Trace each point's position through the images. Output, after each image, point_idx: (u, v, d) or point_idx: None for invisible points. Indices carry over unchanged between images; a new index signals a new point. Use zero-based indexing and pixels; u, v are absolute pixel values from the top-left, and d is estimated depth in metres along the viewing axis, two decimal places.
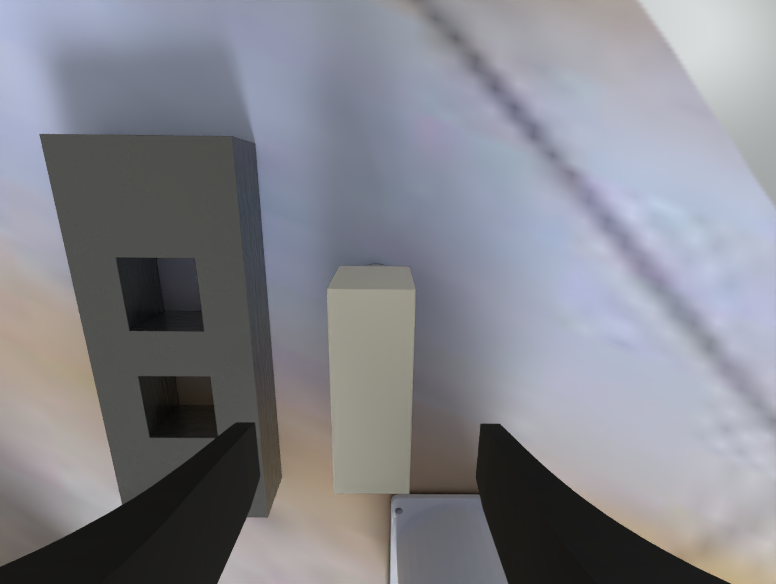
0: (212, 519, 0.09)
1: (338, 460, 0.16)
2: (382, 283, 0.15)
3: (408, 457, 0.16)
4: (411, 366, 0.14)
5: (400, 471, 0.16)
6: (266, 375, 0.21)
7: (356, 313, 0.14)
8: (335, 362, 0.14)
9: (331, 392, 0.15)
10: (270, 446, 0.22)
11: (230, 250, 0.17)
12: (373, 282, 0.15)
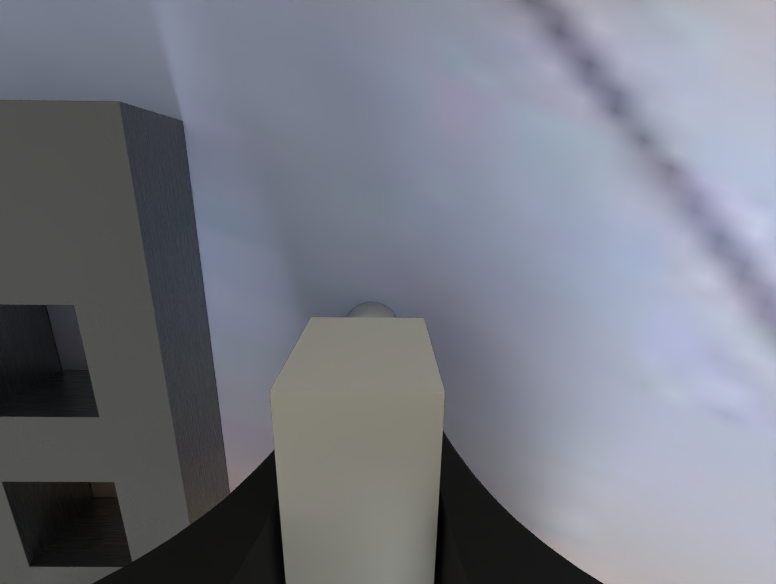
0: None
1: None
2: (379, 368, 0.08)
3: None
4: (434, 525, 0.08)
5: None
6: (209, 466, 0.14)
7: (328, 434, 0.07)
8: (292, 518, 0.08)
9: (286, 566, 0.08)
10: None
11: (131, 293, 0.11)
12: (363, 366, 0.08)
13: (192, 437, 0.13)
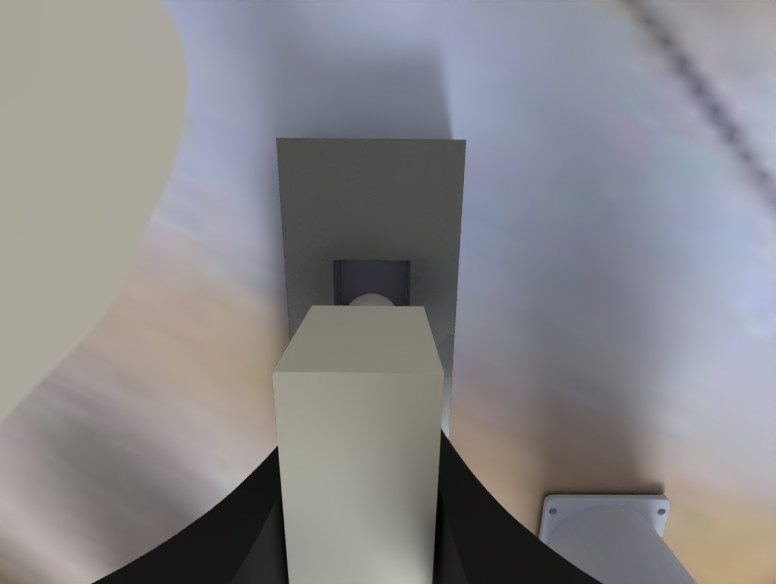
0: None
1: None
2: (379, 351, 0.08)
3: None
4: (433, 505, 0.08)
5: None
6: None
7: (330, 415, 0.07)
8: (293, 498, 0.08)
9: (288, 547, 0.08)
10: None
11: (447, 252, 0.17)
12: (363, 350, 0.08)
13: None
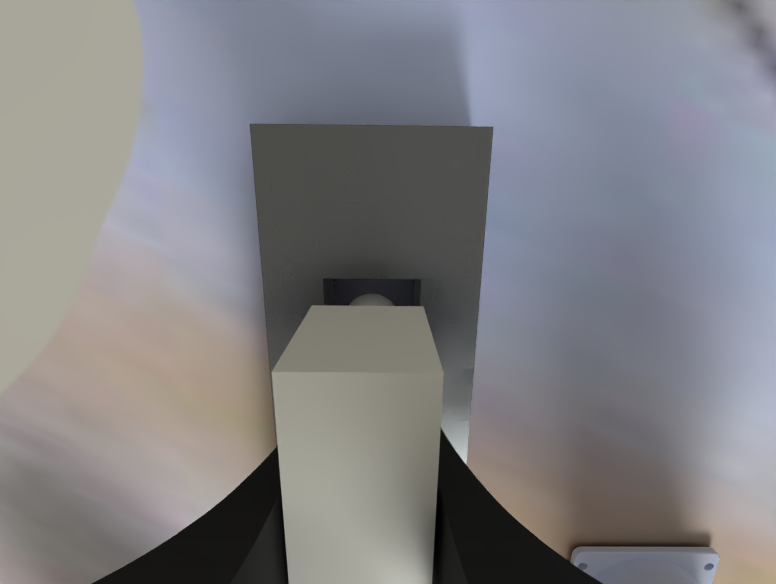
0: None
1: None
2: (379, 351, 0.08)
3: None
4: (433, 505, 0.08)
5: None
6: None
7: (329, 415, 0.07)
8: (293, 498, 0.08)
9: (287, 547, 0.08)
10: None
11: (467, 270, 0.14)
12: (363, 350, 0.08)
13: None
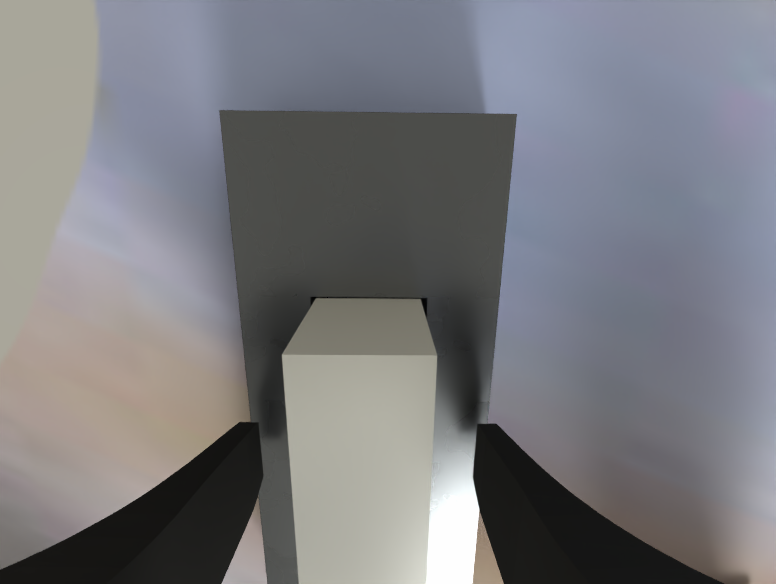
0: (216, 519, 0.09)
1: None
2: (378, 337, 0.09)
3: None
4: (428, 477, 0.09)
5: None
6: None
7: (334, 394, 0.08)
8: (300, 471, 0.09)
9: (295, 517, 0.09)
10: None
11: (482, 286, 0.12)
12: (364, 336, 0.09)
13: None
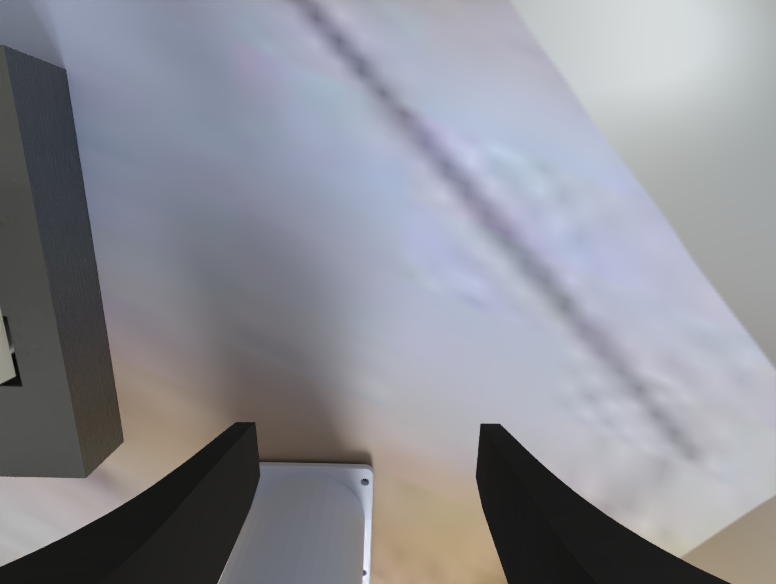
0: (212, 519, 0.09)
1: None
2: None
3: None
4: None
5: None
6: (86, 323, 0.20)
7: None
8: None
9: None
10: (95, 402, 0.20)
11: (15, 174, 0.16)
12: None
13: (67, 292, 0.18)
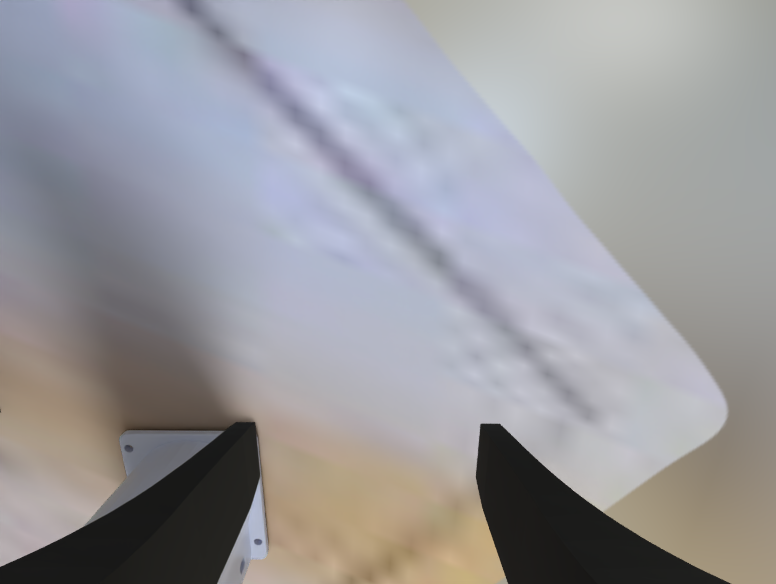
0: (212, 519, 0.09)
1: None
2: None
3: None
4: None
5: None
6: None
7: None
8: None
9: None
10: None
11: None
12: None
13: None
